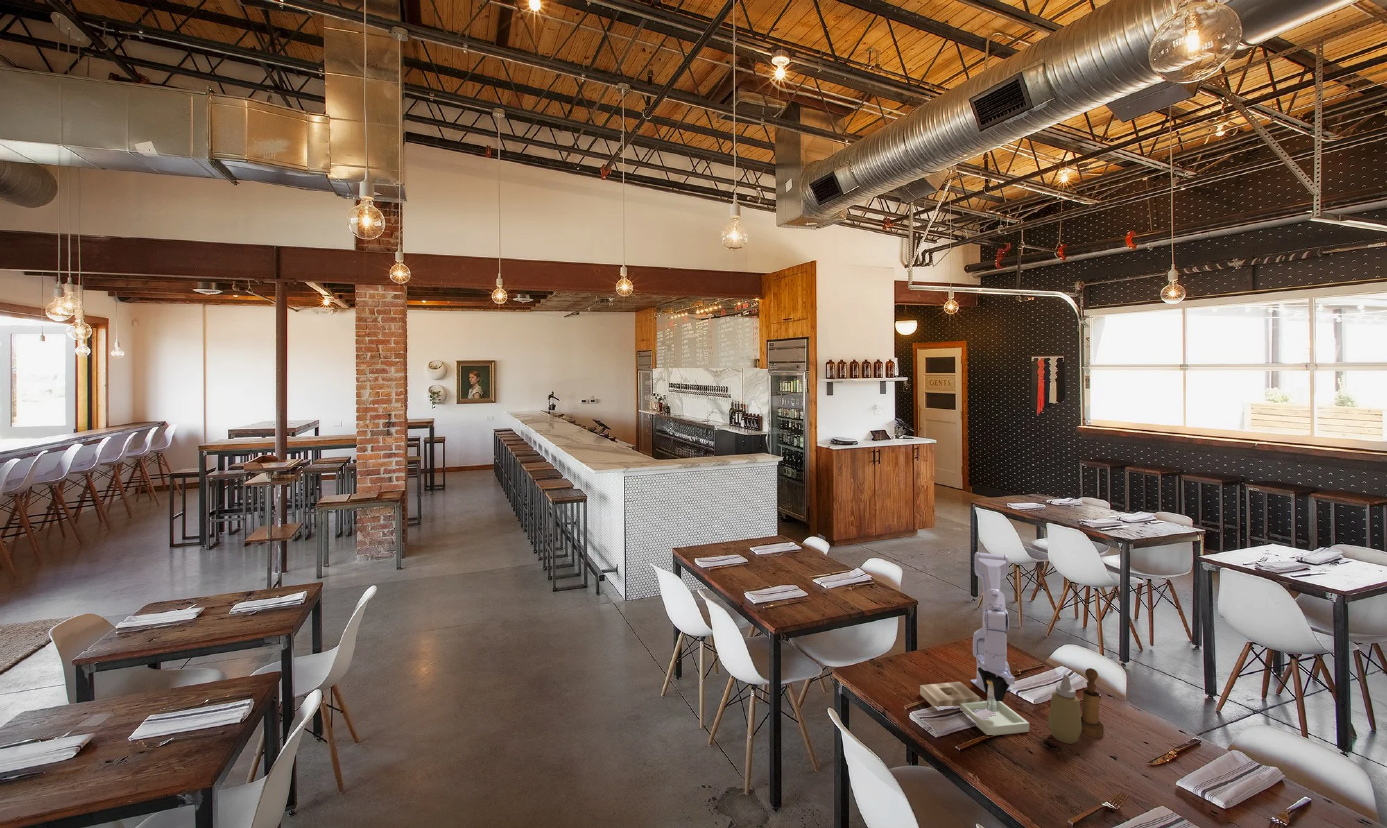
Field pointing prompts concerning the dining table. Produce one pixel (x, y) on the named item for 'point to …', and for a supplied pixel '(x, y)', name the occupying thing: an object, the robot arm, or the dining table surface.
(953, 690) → the hitch block
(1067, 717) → the squeeze bottle
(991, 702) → the pin
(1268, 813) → the dining table surface
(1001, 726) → the tray
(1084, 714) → the wooden pepper mill
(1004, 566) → the robot arm
